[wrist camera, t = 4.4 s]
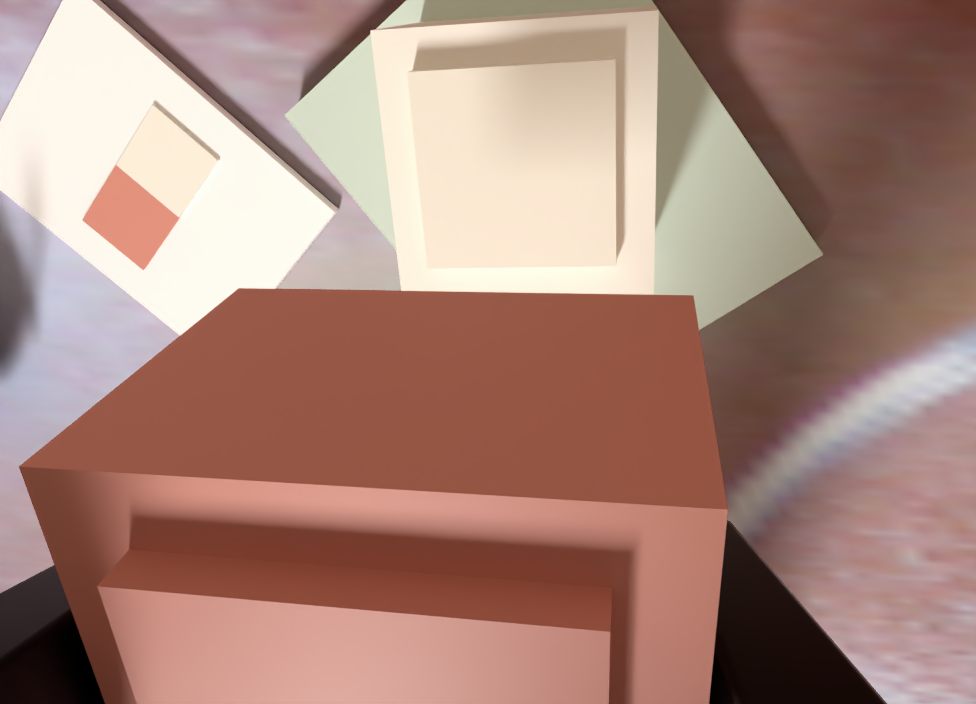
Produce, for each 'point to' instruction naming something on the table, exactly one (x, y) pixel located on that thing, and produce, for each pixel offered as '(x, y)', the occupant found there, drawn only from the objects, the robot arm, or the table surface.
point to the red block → (399, 504)
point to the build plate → (679, 164)
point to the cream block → (522, 151)
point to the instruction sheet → (149, 171)
